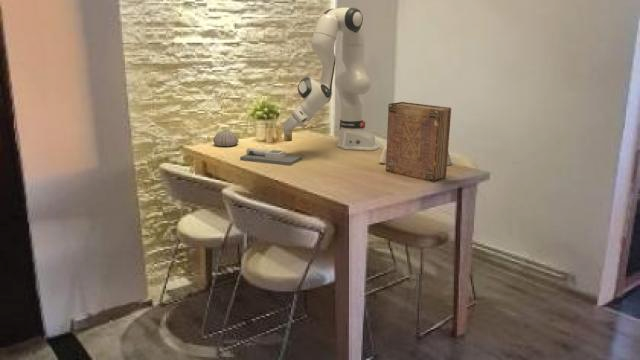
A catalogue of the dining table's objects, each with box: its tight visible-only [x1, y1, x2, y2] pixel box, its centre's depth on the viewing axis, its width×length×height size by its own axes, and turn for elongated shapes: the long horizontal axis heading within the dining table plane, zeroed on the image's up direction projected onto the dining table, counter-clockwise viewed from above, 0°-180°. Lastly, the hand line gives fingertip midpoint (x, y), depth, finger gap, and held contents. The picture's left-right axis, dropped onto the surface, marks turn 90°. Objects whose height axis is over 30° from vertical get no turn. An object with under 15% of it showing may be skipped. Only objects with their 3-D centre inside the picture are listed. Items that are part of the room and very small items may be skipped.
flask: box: [447, 151, 453, 166], centre depth 257 cm, size 7×7×10 cm
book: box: [385, 101, 452, 183], centre depth 234 cm, size 25×9×30 cm, turn 46°
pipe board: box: [239, 147, 304, 166], centre depth 261 cm, size 26×14×4 cm, turn 68°
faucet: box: [378, 145, 387, 165], centre depth 261 cm, size 4×18×10 cm, turn 130°
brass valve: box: [283, 127, 293, 142], centre depth 270 cm, size 4×4×8 cm
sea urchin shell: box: [212, 129, 239, 147], centre depth 292 cm, size 13×14×8 cm
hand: (286, 131), depth 270 cm, fingers closed on brass valve, 4 cm apart
